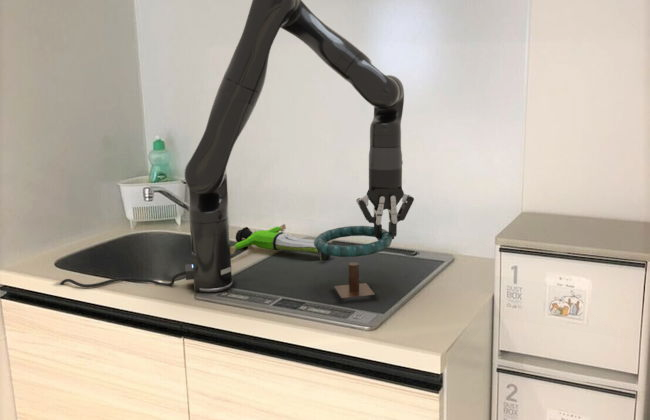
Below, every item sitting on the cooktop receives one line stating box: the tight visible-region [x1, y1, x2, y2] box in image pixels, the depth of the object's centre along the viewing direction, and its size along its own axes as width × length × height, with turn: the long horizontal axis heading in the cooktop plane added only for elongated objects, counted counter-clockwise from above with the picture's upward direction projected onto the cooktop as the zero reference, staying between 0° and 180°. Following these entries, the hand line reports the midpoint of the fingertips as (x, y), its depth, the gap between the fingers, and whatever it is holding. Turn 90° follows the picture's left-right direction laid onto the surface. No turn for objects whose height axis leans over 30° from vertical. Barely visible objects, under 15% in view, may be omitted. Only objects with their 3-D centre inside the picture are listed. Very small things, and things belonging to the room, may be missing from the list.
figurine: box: [230, 223, 331, 262], centre depth 193 cm, size 28×6×30 cm
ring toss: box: [333, 261, 376, 299], centre depth 160 cm, size 8×8×8 cm
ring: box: [314, 225, 393, 258], centre depth 158 cm, size 18×18×2 cm
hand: (385, 238), depth 159 cm, fingers closed on ring, 2 cm apart
